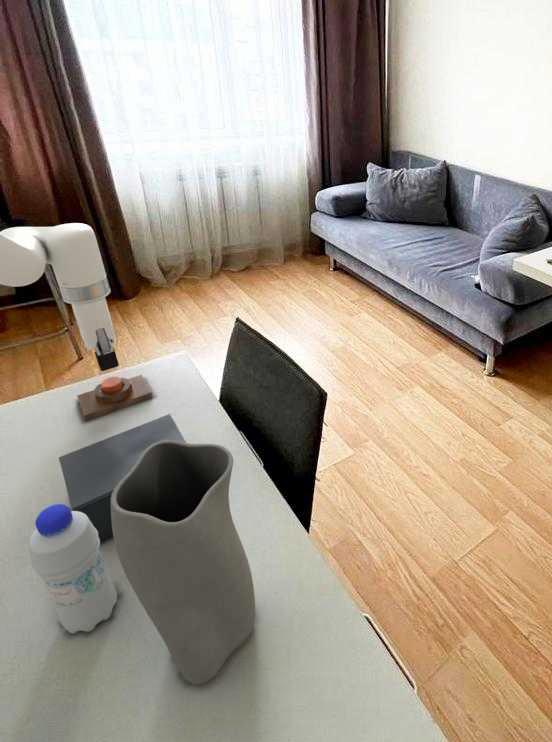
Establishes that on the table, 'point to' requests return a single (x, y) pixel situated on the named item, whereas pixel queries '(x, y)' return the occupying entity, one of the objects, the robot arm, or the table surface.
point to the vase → (185, 553)
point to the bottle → (72, 567)
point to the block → (114, 398)
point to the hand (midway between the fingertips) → (109, 366)
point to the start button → (112, 384)
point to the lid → (111, 460)
